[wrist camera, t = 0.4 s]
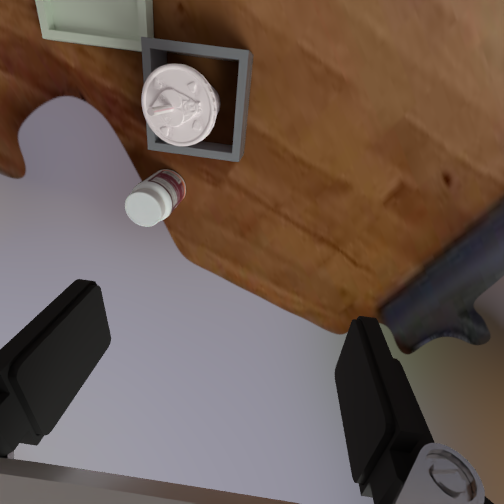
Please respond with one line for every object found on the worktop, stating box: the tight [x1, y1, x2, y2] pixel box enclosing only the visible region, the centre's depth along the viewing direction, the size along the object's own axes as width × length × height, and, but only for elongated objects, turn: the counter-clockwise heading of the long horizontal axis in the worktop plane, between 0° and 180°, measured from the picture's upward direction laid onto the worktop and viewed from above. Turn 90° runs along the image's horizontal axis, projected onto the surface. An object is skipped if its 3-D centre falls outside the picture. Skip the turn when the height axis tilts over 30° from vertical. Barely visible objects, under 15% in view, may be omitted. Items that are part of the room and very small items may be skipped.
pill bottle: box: [125, 169, 186, 227], centre depth 35 cm, size 5×5×8 cm
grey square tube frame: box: [141, 37, 253, 162], centre depth 31 cm, size 10×10×4 cm
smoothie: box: [141, 63, 221, 146], centre depth 27 cm, size 6×6×14 cm
